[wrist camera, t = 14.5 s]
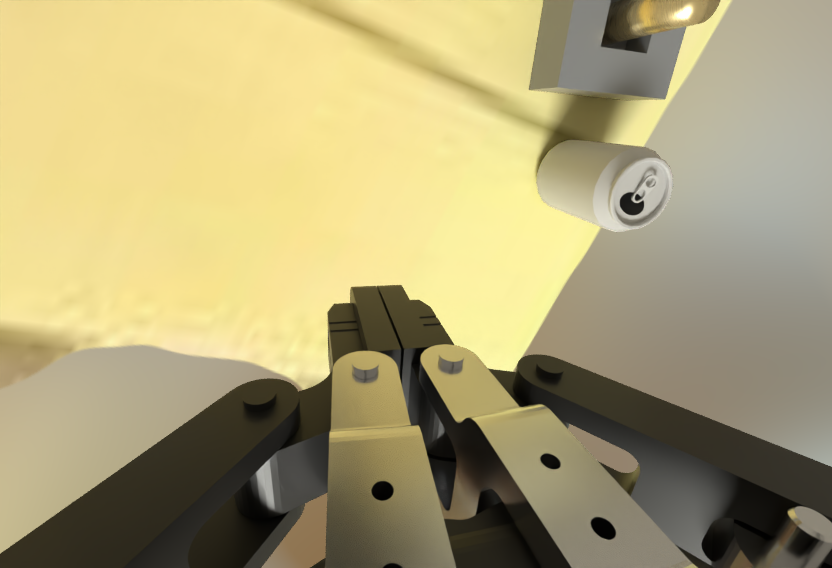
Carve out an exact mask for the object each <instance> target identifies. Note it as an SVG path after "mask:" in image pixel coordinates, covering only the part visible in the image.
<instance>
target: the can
mask: <svg viewBox="0 0 832 568" xmlns="http://www.w3.org/2000/svg"><path fill="white" fill-rule="evenodd" d="M536 183H537V189H538V193H539V195H540V197H541V199H542V201H543V202H545V203H546V204H547V205H548V206H549V207H552V208H554V209H557V210H559V211H562V212H565V213H567V214H570V215H572V216H575V217H577V218H580V219H582V220H585V221H587V222H590V223H592V224H595V225H597V226H600V227H602V228H605V229H608V230H611V231H615V232H619V231H627V230H630V229H639V228H641V227H643V226H646V225H648V224H650V223H651V222H652V221H653V220H655V219H656V218H657V217H658V216H659V215H660V213H661V212H662V211H663V210H664V209H665V207H666V205H667V203H668V201H669V199H670V196H671V192H672V188H673V175H672V171H671V168H670V166H669V165H668V164H667V163H666V162H665V161H664V160H663V159H661V158H660V156H659V155H658V154H657V153H656V152H655V151H653V150H650V149H648V148H646V147H639V146H630V145H621V144H612V143H603V142H594V141H585V140H566V141H564V142H561V143H559V144H557V145H556V146H555V147H553V148H552V149H551V150H550V151H549V152H548V153H547V154H546V156H545V157H544V159H543V160H542V162H541V165H540V167H539V170H538V174H537V182H536Z"/></svg>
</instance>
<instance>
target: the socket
mask: <svg viewBox="0 0 832 568" xmlns="http://www.w3.org/2000/svg"><path fill="white" fill-rule="evenodd" d="M617 1H620V0H544V2H543V8H542V14H541V20H540V26H539V32H538V38H537V44H536V50H535V56H534V62H533V68H532V74H531V80H530V87H529V90H534V91H544V92H553V93H562V94H572V95H581V96H591V97H600V98H610V99H619V100H657V99H665V98H666V95H667V91H668V88H669V84H670V81H671V78H672V74H673V71H674V67H675V64H676V60H677V57H678V53H679V50H680V47H681V43H682V40H683V36H684V33H685V29H686V27H682V28H677V29H673V30H669V31H664V32H660V33H656V34H651V35H647V36H643V37H638V38H634V39H630V40H625V41H621V42H617V43H612V44H608V45H602V44H601V43H602V38H603V34H604V29H605V25H606V20H607V16H608V11H609V7H610V4H611V3H614V2H617Z"/></svg>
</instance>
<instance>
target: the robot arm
mask: <svg viewBox="0 0 832 568" xmlns="http://www.w3.org/2000/svg"><path fill="white" fill-rule="evenodd" d="M328 357H329V368H330V375H329V376H328V377H327V378H326V379H325V380H324V381H322V382H321V383H319V384H317V385H315V386H313V387H311V388H308V389H305V390H302V391H299V392H298V391H297V389H296V387H294V385H292V384H291V383H289V382H287V381H284V380H280V379H259V380H255V381H251V382H247V383H245V384H242V385H240V386H238V387H236V388H235V389H233V390H232V391H230V392H229V393H227V394H226V395H225V396H223V397H222V398H220V399H219V400H217V401H216V402H215V403H213V404H212V405H210V406H209V407H208V408H206V409H205V410H204V411H202V412H200V413H199V414H198V415H196V416H195V417H194V418H192V419H191V420H189V421H188V422H186V423H185V424H183V425H182V426H181V427H179V428H178V429H176V430H175V431H174V432H172V433H171V434H169V435H168V436H166V437H165V438H164V439H162V440H161V441H160V442H158V443H157V444H155V445H154V446H152V447H151V448H149V449H148V450H147V451H145V452H144V453H142V454H141V455H140V456H138V457H137V458H135V459H134V460H132V461H131V462H130V463H128V464H127V465H126V466H124V467H123V468H121V469H120V470H118V471H117V472H116V473H114V474H113V475H111V476H110V477H108V478H107V479H106V480H104V481H103V482H102V483H100V484H99V485H97V486H96V487H94V488H93V489H91V490H90V491H88V492H87V493H86V494H84V495H83V496H82V497H80V498H79V499H77V500H76V501H74V502H73V503H71V504H70V505H69V506H67V507H66V508H64V509H63V510H62V511H60V512H59V513H57V514H56V515H55V516H53V517H52V518H50V519H49V520H47V521H46V522H45V523H43V524H42V525H40V526H39V527H38V528H36V529H35V530H33V531H32V532H30V533H29V534H28V535H26V536H25V537H23V538H22V539H21V540H19V541H18V542H16V543H15V544H14V545H12V546H11V547H9V548H8V549H6V550H5V551H3V552H2V553H1V554H0V568H261V567H262V566H263V565H264V563H265V562H266V561H267V559H268V558H269V556H270V555H271V554H272V553H273V552H274V550H275V549H276V548H277V546H278V545H279V544H280V542H281V541H282V540H283V538H284V537H285V536H286V535H287V533H288V532H289V531H290V530H291V528H292V527H293V526H294V524H295V523H296V522H297V520H298V519H299V518H300V516H301V514H302V512H303V510H304V506H305V503H307V502H309V501H311V500H313V499H315V498H317V497H319V496H321V495H323V494H325V493H327V492H328V494H327V527H326V528H327V529H326V558H325V559H323V560H321V561H320V562H318V563H317V564H315V565H314V566H312V567H310V568H832V467H831V466H828V465H825V464H823V463H820V462H818V461H815V460H813V459H810V458H808V457H805V456H803V455H800V454H798V453H795V452H792V451H790V450H788V449H785V448H782V447H780V446H778V445H775V444H772V443H770V442H767V441H765V440H762V439H760V438H757V437H755V436H752V435H750V434H747V433H745V432H742V431H740V430H737V429H735V428H732V427H730V426H727V425H724V424H722V423H719V422H717V421H714V420H712V419H709V418H707V417H704V416H702V415H699V414H697V413H694V412H691V411H689V410H687V409H684V408H682V407H679V406H677V405H674V404H671V403H669V402H666V401H664V400H661V399H659V398H656V397H654V396H651V395H649V394H646V393H643V392H641V391H639V390H636V389H633V388H631V387H628V386H626V385H623V384H621V383H618V382H616V381H613V380H611V379H608V378H606V377H603V376H600V375H598V374H596V373H593V372H591V371H588V370H586V369H583V368H581V367H578V366H576V365H573V364H570V363H568V362H565V361H563V360H560V359H558V358H555V357H551V356H547V355H528V356H525V357H523V358H521V359H520V360H519V362H518V364H517V369H516V372H510V371H501V370H493V369H488V368H487V367H486V366H485V365H484V363H483V362H482V361H481V360H480V359H479V357H478V356H477V355H476V354H474V353H473V352H472V351H470V350H468V349H466V348H463V347H460V346H456V345H454V344H453V342H452V340H451V339H450V337H449V336H448V334H447V332H446V331H445V329H444V328H443V326H442V325H441V323H440V321H439V320H438V318H436V315H435V314H434V312H433V310H432V309H431V307H430V306H428V305H426V304H425V303H423V302H422V301H420V300H409V298H408V296H407V294H406V292H405V291H404V289H403V287H402V285H388V286H377V287H376V286H364V287H351V290H350V303H343V304H334V305H333V306H332V307H331V309H330V310H329V311H328ZM569 424H571V425H574V426H576V427H578V428H580V429H582V430H584V431H586V432H588V433H590V434H592V435H594V436H597V437H599V438H601V439H603V440H605V441H607V442H609V443H611V444H613V445H616V446H618V447H620V448H622V449H624V450H626V451H627V452H629V453H630V454H632V455H633V456H634V457H635V459H636V460H637V462H638V463H639V464H638V467H637V469H636V470H635V471H634V472H632V473H621V472H618V471H616V470H614V469H612V468H610V467H608V466H606V465H604V464H602V463H600V462H598V461H597V460H596V459H595V458H594V457H593V456H592V455H591V453H590V452H589V451H588V450H587V449H586V448H585V447H584V446H583V445H582V444H581V443H580V442H579V440H578V439H577V438H576V437H575V436H574V435H573V434H572V433H571V432H570V431H569V430H568V427H569Z"/></svg>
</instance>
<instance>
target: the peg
mask: <svg viewBox="0 0 832 568" xmlns="http://www.w3.org/2000/svg"><path fill="white" fill-rule="evenodd" d="M719 2H720V0H620V1H617V2H614V3H611V4H610V7H609V11H608V16H607V20H606V25H605V29H604V34H603V38H602V43H601V44H602V45H608V44H612V43H617V42H621V41H625V40H630V39H634V38H638V37H643V36H647V35H651V34H656V33H660V32H664V31H669V30H673V29H677V28H682V27H686V26H690V25H695V24H699V23H702V22H705V21H706V20H708V19H709V18H710V17H711V16H712V15H713V13H714V12H715V11H716V9H717V7H718V5H719Z"/></svg>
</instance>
